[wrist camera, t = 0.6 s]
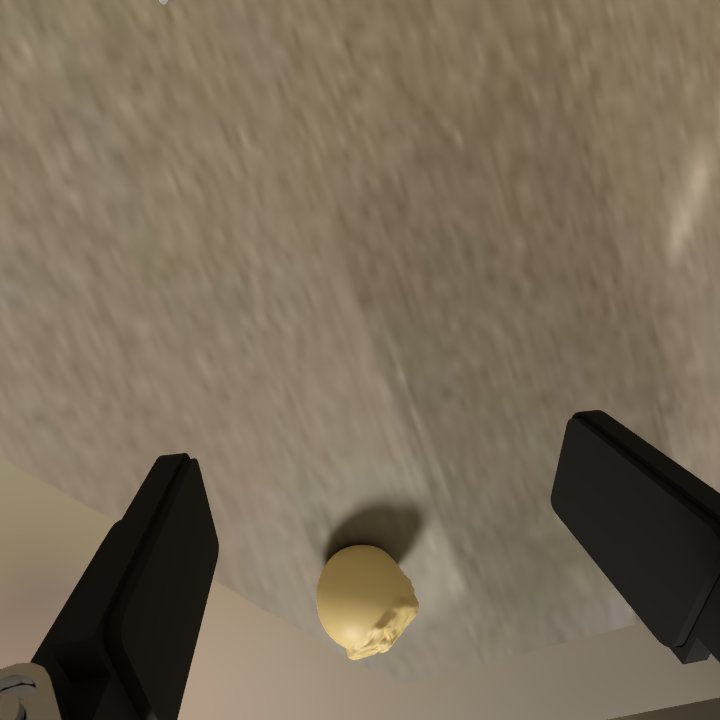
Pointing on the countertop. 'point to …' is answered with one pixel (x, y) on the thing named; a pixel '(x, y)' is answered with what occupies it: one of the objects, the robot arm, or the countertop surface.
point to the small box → (163, 1)
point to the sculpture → (364, 600)
